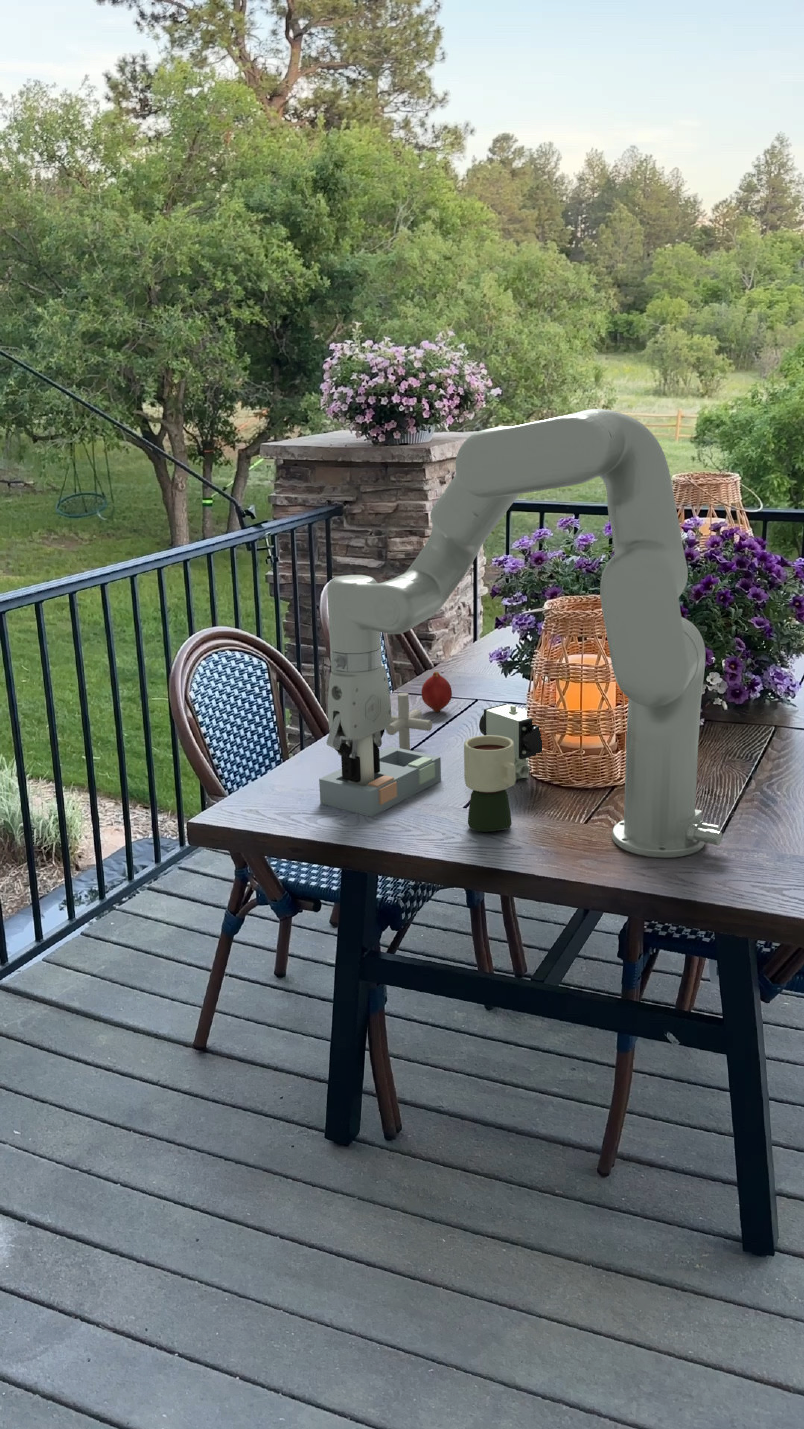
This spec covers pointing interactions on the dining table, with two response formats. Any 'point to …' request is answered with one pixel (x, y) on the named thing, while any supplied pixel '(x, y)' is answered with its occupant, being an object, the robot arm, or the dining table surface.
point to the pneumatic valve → (513, 733)
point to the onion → (436, 692)
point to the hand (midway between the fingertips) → (361, 774)
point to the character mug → (489, 781)
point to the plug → (365, 760)
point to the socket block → (383, 782)
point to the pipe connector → (406, 722)
